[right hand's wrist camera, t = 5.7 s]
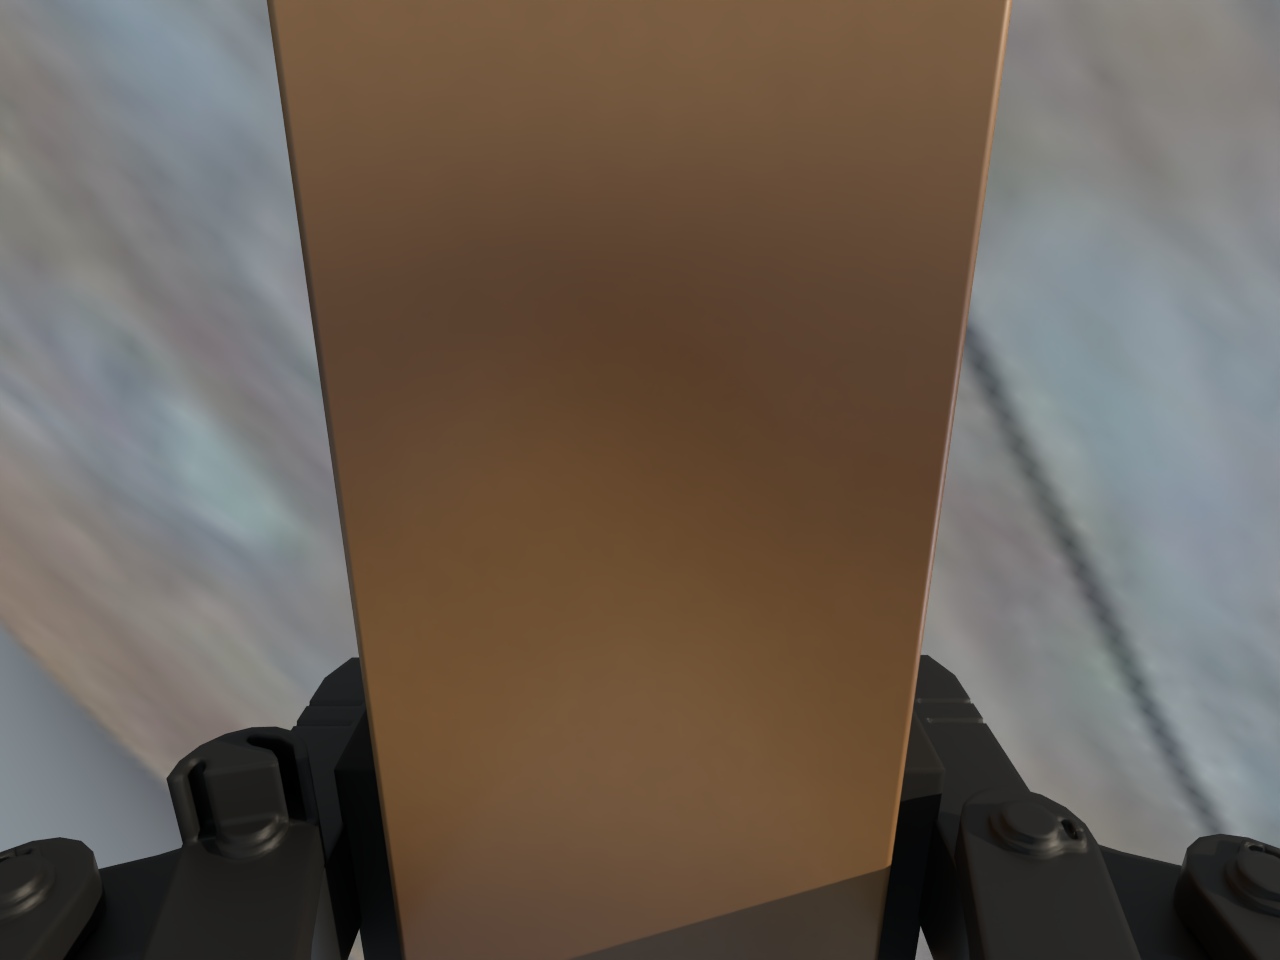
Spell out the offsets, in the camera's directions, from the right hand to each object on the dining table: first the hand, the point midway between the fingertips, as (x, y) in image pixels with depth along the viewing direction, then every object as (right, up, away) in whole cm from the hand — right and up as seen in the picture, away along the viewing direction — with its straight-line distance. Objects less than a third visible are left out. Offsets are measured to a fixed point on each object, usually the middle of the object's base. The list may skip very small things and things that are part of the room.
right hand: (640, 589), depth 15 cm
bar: (0, +9, -3) cm, 9 cm away
